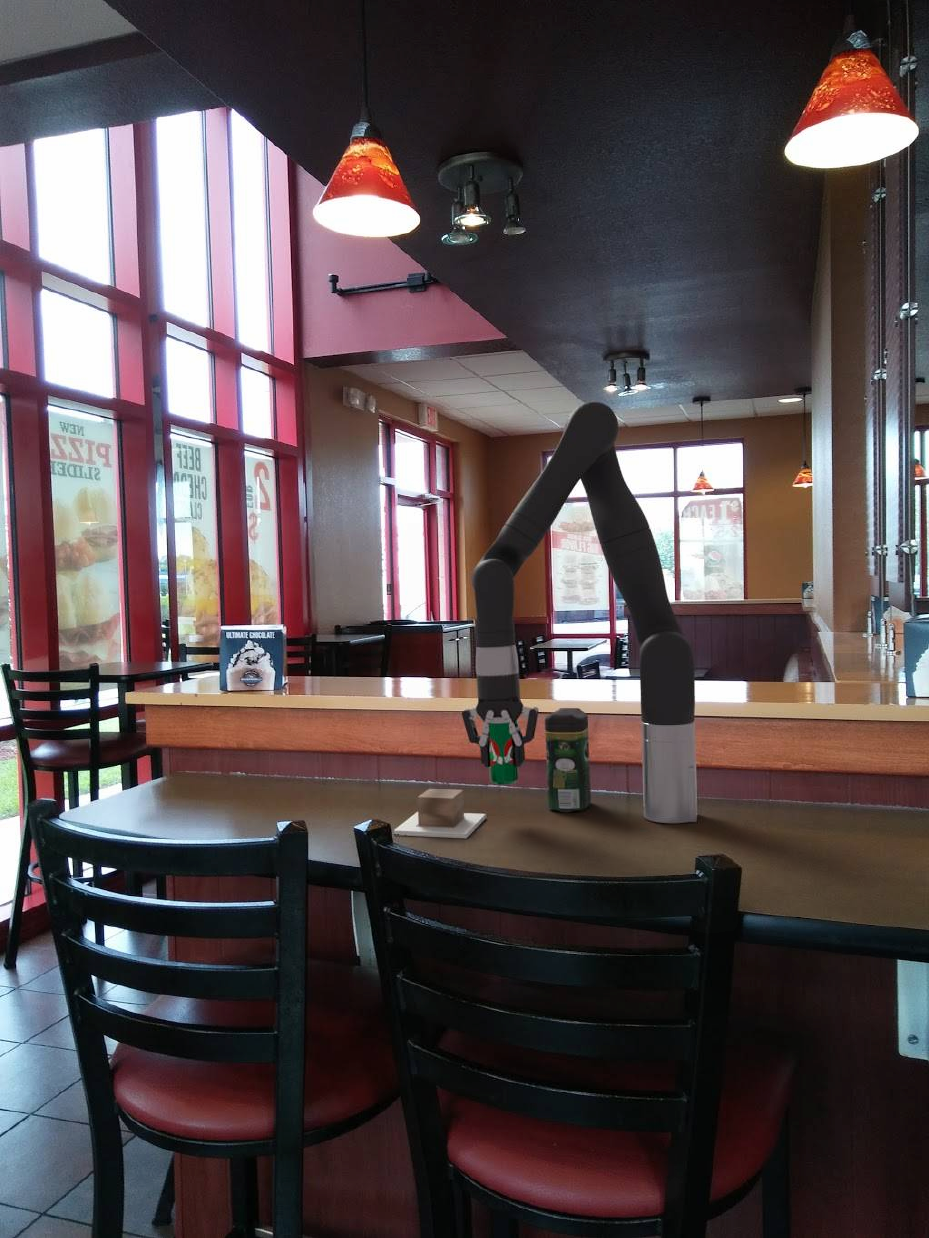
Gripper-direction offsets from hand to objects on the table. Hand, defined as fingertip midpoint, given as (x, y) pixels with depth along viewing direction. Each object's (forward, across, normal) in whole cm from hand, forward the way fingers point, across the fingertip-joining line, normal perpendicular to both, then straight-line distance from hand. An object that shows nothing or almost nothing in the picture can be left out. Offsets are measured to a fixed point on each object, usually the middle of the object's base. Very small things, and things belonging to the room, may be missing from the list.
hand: (503, 765), depth 164 cm
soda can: (+3, 0, 0) cm, 3 cm away
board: (+10, +11, +5) cm, 15 cm away
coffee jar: (+11, -9, -12) cm, 19 cm away
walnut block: (+9, +11, +5) cm, 15 cm away
